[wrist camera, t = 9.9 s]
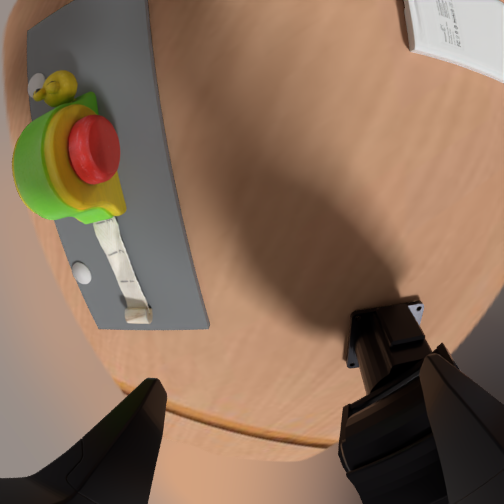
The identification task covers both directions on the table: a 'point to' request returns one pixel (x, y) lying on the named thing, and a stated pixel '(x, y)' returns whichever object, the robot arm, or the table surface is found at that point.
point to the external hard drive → (459, 33)
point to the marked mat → (122, 161)
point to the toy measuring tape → (77, 175)
